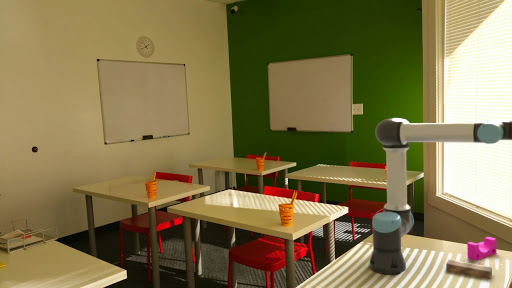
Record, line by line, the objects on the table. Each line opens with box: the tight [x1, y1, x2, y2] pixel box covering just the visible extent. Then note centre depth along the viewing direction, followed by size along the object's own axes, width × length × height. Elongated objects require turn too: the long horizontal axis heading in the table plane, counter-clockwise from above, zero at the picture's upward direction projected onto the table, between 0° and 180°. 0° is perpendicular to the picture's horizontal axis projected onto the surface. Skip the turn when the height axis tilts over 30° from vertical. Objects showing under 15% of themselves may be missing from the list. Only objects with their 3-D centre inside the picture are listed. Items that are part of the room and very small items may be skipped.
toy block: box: [466, 236, 497, 262], centre depth 183 cm, size 15×6×8 cm, turn 117°
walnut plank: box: [445, 259, 493, 280], centre depth 165 cm, size 16×5×3 cm, turn 52°
